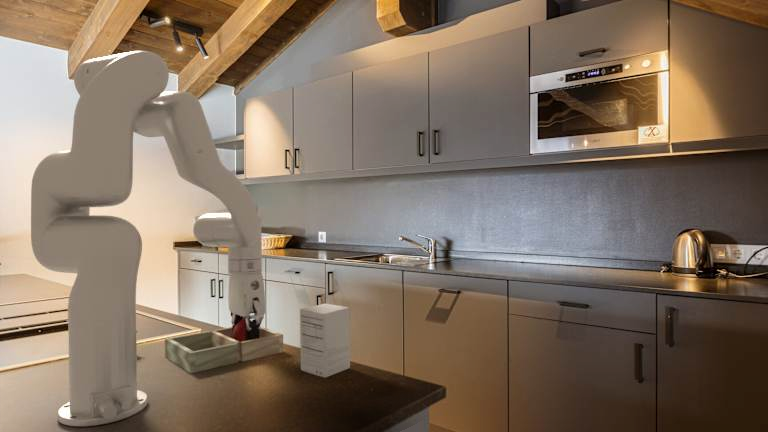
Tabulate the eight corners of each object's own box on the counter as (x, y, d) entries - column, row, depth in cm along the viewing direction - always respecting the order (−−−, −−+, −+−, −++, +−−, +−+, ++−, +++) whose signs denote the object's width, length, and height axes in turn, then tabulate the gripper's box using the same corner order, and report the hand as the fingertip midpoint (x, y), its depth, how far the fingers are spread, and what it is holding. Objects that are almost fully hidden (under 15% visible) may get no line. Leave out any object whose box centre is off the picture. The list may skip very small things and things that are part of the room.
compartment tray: (283, 352, 110) (283, 334, 110) (190, 373, 96) (190, 353, 96) (252, 339, 121) (252, 323, 121) (165, 356, 107) (164, 338, 107)
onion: (262, 346, 115) (262, 313, 115) (253, 353, 109) (253, 318, 109) (238, 346, 115) (238, 312, 115) (228, 353, 110) (228, 318, 109)
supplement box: (325, 361, 103) (325, 302, 103) (351, 368, 99) (350, 307, 98) (299, 370, 98) (298, 308, 97) (324, 378, 93) (324, 313, 93)
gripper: (278, 268, 108) (279, 348, 108) (243, 262, 121) (244, 334, 121) (247, 271, 103) (248, 355, 103) (214, 264, 116) (214, 339, 116)
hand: (245, 343), depth 112 cm, fingers closed on onion, 5 cm apart
